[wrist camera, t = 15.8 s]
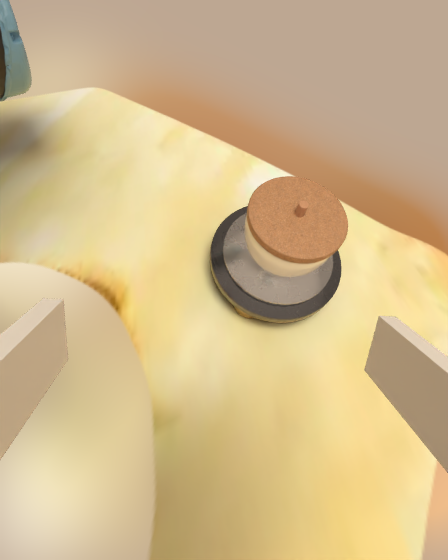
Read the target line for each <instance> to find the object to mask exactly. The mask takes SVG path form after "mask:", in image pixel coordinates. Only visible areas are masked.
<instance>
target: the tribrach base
mask: <svg viewBox="0 0 448 560" xmlns="http://www.w3.org/2000/svg"><path fill="white" fill-rule="evenodd" d="M247 208H248V206H247V207H244V208H242V209H239V210H237V211H235V212H234V213H232V214H231V215H230V216H228V217H227V218H226V219H225V220H224V221H223V222H222V223H221V224H220V226H219V227H218V229H217V231H216V233H215V235H214V237H213V241H212V246H211V253H210V266H211V272H212V275H213V278H214V280H215V282H216V284H217V287H218V288H219V290H220V291H221V293H222V294H223V295H224V296H225V297H226V299H227V300H228V301H229V302H230V303H231V304H233V305H234V308H235V310H236V311H237V313H238V314H240V315H241V316H243V317H245V318H257V319H259V320H263V321H267V322H275V323H288V322H295V321H299V320H302V319H305V318H307V317H309V316H311V315H313V314H315V313H316V312H318V311H319V310H320V309H321V308H322V307H323V306H324V305H325V304H326V303H327V302H328V301H329V300H330V299H331V298H332V297H333V295H334V293H335V292H336V290H337V287H338V285H339V282H340V277H341V260H340V256H339V252H338V250H337V251H336V252H335V253H334V254H333V255H332V256H331V257H330V258H329V259H328V260H327V261H326V262H325V263H324V264H323V265H321V266H320V267H319V268H317V269H316V270H314V271H312V272H310V273H308V274H306V275H302V276H299V277H281V276H277V275H274V274H271V273H269V272H267V271H266V270H264V269H263V268H261V267H260V266H259V265H258V264H257V263H256V262H255V261H254V260H253V258H252V257H251V255H250V253H249V251H248V248H247V245H246V242H245V220H246V215H247Z"/></svg>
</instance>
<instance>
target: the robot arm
mask: <svg viewBox="0 0 448 560" xmlns="http://www.w3.org/2000/svg"><path fill="white" fill-rule="evenodd" d="M31 81H32V80H31V72H30V67H29V63H28V59H27V55H26V52H25V48H24V45H23V42H22V39H21V37H20V36H19V30H18V26H17V22H16V19H15V17H14V13H13V11H12V8H11V5H10V2H9V0H0V101H4V100H5V99H7V98H8V97H12V96H16V95H20V94H24V93H26V92H27V91H28V90H29V88H30V86H31ZM67 360H68V353H67V339H66V327H65V313H64V301H63V299H48V298H43V299H42V300H41V301H39V302H38V303H37V304H36V305H35V306H33V307H32V308H31V309H30V310H29V311H27V312H26V313H25V314H24V315H23V316H22V317H20V318H19V319H18V320H17V321H16V322H14V323H13V324H12V325H11V326H10V327H9V328H7V329H6V330H5V331H4V332H3V333H1V334H0V460H1V458H2V457H3V455H4V454H5V452H6V451H7V449H8V448H9V446H10V445H11V443H12V442H13V440H14V439H15V437H16V436H17V434H18V433H19V431H20V430H21V429H22V427H23V426H24V424H25V422H26V421H27V420H28V418H29V417H30V415H31V414H32V412H33V411H34V409H35V408H36V406H37V405H38V403H39V402H40V400H41V399H42V397H43V396H44V394H45V393H46V392H47V390H48V389H49V387H50V386H51V384H52V383H53V381H54V380H55V378H56V377H57V375H58V374H59V372H60V371H61V369H62V368H63V366H64V365H65V363H66V362H67ZM365 372H366V373H367V374H368V375H369V376H370V378H371V379H372V380H373V381H374V383H375V384H376V385H377V386H378V388H379V389H380V390H381V391H382V393H383V394H384V395H385V396H386V397H387V399H388V400H389V401H390V402H391V404H392V405H393V406H394V407H395V409H396V410H397V411H398V412H399V413H400V415H401V416H402V417H403V418H404V420H405V421H406V422H407V423H408V425H409V426H410V427H411V428H412V429H413V431H414V432H415V433H416V434H417V436H418V437H419V438H420V439H421V441H422V442H423V443H424V444H425V445H426V447H427V448H428V449H429V450H430V452H431V453H432V454H433V455H434V457H435V458H436V459H437V460H438V461H439V463H440V464H441V465H442V466H443V467H444V469H445V470H446V471H447V473H448V357H447V356H446V355H445V354H444V353H442V352H441V351H440V350H438V349H437V348H436V347H434V346H433V345H432V344H430V343H429V342H428V341H427V340H425V339H424V338H423V337H421V336H420V335H419V334H417V333H416V332H415V331H413V330H412V329H411V328H410V327H408V326H407V325H406V324H404V323H403V322H402V321H400V320H399V319H398V318H396V317H390V316H379V318H378V321H377V325H376V329H375V332H374V336H373V340H372V344H371V347H370V351H369V355H368V358H367V362H366V366H365Z"/></svg>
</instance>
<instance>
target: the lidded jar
mask: <svg viewBox="0 0 448 560" xmlns="http://www.w3.org/2000/svg"><path fill="white" fill-rule="evenodd" d="M347 231H348V221H347V216H346V213H345V211H344V208H343V206H342V205H341V203H340V202H339V200H338V199H337V198H336V197H335V196H334V195H333V194H332V193H331V192H330V191H329V190H327V189H326V188H324V187H323V186H321V185H320V184H318V183H316V182H313V181H311V180H308V179H305V178H300V177H291V176H287V177H279V178H274V179H272V180H269V181H267V182H265V183H263V184H262V185H260V186H259V187H258V188H257V189H256V190H255V191H254V193H253V194H252V196H251V198H250V201H249V204H248V208H247V215H246V220H245V242H246V245H247V248H248V251H249V253H250V255H251V257H252V258H253V260H254V261H255V262H256V263H257V264H258V265H259V266H260V267H261V268H263V269H264V270H266V271H267V272H269V273H271V274H274V275H277V276H281V277H299V276H302V275H306V274H308V273H310V272H312V271H314V270H316V269H317V268H319V267H320V266H321V265H323V264H324V263H325V262H326V261H327V260H328V259H329V258H330V257H331V256H332V255H333V254H334V253H335V252H336V251H337V250H338V249H339V248H340V246H341V245H342V244H343V242H344V240H345V238H346V235H347Z"/></svg>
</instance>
